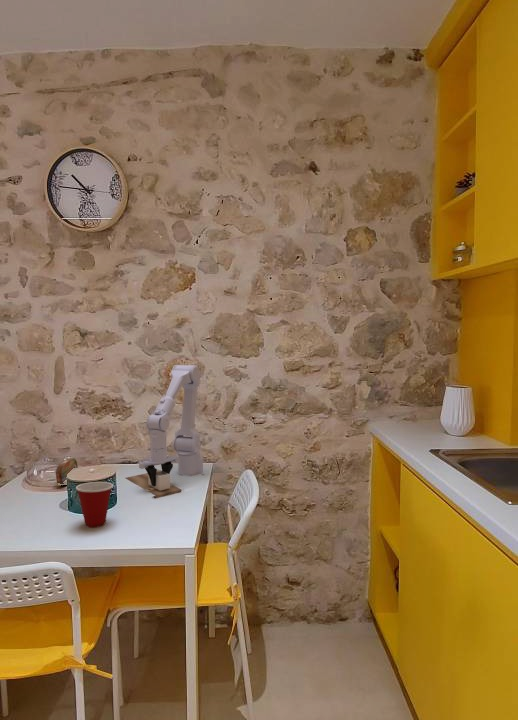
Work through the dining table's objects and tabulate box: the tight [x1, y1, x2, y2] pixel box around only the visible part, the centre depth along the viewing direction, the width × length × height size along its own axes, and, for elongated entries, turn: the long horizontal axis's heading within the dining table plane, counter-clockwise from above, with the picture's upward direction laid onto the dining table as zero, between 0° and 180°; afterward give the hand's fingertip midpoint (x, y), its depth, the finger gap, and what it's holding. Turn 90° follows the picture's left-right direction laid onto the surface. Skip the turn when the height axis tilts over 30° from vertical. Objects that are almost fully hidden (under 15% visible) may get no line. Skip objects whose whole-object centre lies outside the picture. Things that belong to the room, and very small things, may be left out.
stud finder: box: [148, 468, 171, 491], centre depth 181 cm, size 4×9×5 cm, turn 38°
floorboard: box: [125, 473, 182, 499], centre depth 186 cm, size 10×26×1 cm, turn 39°
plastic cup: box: [75, 481, 114, 528], centre depth 151 cm, size 11×11×12 cm
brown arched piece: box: [55, 458, 79, 484], centre depth 191 cm, size 15×3×8 cm, turn 179°
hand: (159, 484), depth 181 cm, fingers closed on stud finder, 4 cm apart
